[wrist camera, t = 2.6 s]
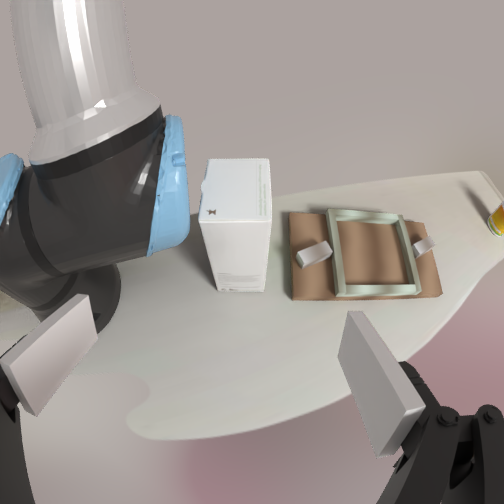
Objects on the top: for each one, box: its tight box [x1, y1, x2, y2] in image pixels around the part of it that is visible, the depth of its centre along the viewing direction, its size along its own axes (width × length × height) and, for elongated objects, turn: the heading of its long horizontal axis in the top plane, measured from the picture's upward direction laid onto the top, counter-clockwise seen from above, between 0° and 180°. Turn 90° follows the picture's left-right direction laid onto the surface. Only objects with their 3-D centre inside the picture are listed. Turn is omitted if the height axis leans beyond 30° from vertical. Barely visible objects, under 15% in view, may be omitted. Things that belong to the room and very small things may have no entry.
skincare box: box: [198, 158, 272, 292], centre depth 31 cm, size 8×7×16 cm
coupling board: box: [289, 209, 443, 300], centre depth 37 cm, size 24×13×3 cm, turn 88°
